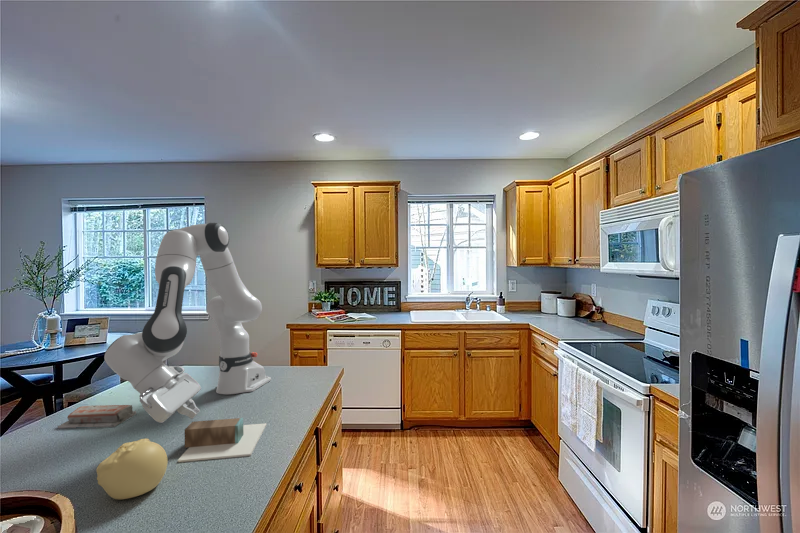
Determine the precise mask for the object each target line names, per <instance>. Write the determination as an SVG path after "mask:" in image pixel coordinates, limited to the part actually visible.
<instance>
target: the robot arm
mask: <svg viewBox="0 0 800 533" xmlns="http://www.w3.org/2000/svg"><path fill="white" fill-rule="evenodd" d="M229 235H230V234H229V232H228V230H227V228H226V227H225V226H224V225H223V224H221V223H219V222H208V223H199V224H193V225H189V226H185V227H182V228H181V227H180V228H174V229H172V230H169V231H168V232H166V233H165V234H164V235H163V237H162V240H161V242H160V244H159V247H158V250H157V253H156V258H155V263H154V264H155V266H154V275H155V281H156V283H157V284H158V292H157V296H156V297H157V298H156V302H155V307H154V312H153V313H152V315H151V317H150V318H149V319H148V320H147V321H146V323H145V324H144V326H143V328H142V332H138V333H134V334H133V333H132V334H123V335H121V336H119V337H118V338H117V339H115V340H114V341H113V342H112V343H111V344H110V345H109V346H108V347H107V349H106V350H105V352H104V357H103V358H104V362H105V363H106V365H107V366H108V367H109V369H111V370H112V371H113V372H114V373H115V374H116V375H118V377H119V378H121V379H122V380H124V381H127V382H128V383H130V384H131V386H132V387H133V389H134V390H135V391H137V392H138V393H139V402H140V404H141V406H142V408H143V409H144V411H145V412H146V413H147V414H148V415H149V416H150V417H151V418H152V419H153V420H154V421H155V422H157V423H162V424H163V423H164V422H165V421H167V420H168V419H169V418H170V417H172V416H173V415H174V414H175V413H176V412H178V414H180V415H184V416H186V417H188V418H189V419H191V420H193V419H194V418H195V417H196V416H197V415H198V414H199V413H200V411H201V409H199V407H198V406H197V405H196V403H195V401H194V400H193V398H194V397H195V396H197V394H198V393H199V392H200V391H202V387H201V384H200V383H199V382H198V381H197V380H196V379H195V378H193V377H192V375H190V374H189V373H187V372H185V368H184V367H183V366H180V365H177V366H171V365H167V364H166V363H165V361H168V359H170V358H172V357H174V356H176V355H177V354H178V353H179V352H180V351H181V349H182V348H183V345H184V344H185V339H186V337H187V334H188V331H187V330H188V328H187V325H186V321H185V319H184V317H183V314H182V313H183V312H182V310H183V300H184V293H185V290H186V287H187V286H189V285H190V284H191V283H192V281H193V278H194V276H195V272H196V266H197V257H199V258H200V261H201V266H202V269H203V271H204V274H205V276H206V279H207V282H208V284H209V287H210V288H211V289H212V291H214V292H216V293H217V294H218V295H217V296H213V297H212V298H211V299H210V300H209V301H208V303H207V305H206V312H207V314H208V316H210V318H212V321H213V323H214V324H215V327H216V329H217V333H218V337H219V356H218V367H219V374H218V381H217V386H216V389H215V392H216V393H217V394H218V395H219V394H220V395H235V394H236V395H237V394H242V393H250V392H254V391H256V390H257V389H258V388H259V389H260V387H262V386H264V385H266V384H268V382H270V381H272V377H270V376H269V375H266V369H265V367H264V366H263V365H261V364H260V363H257V362H256V361H255V360H254V359H253V358H257V357H258V353H257V352H256V351H255V352H254V351H252V352H250V334H249V333H248V331H247V330H245V328H244V325H243V323H249V322H254V321H256V320H257V319H259V318H260V316H261V315H262V311H263V304H262V302H261V301H260V299H258V298H257V297H256V296H254V295H253V294H252V293H251V292H250V291H249V289H248V287H246V285H245V284H244V282H243V281H242V278H240V275H239V273H238V270H237V267H236V264H235V261H234V258H233V256H232V253H231V251H230V249H229V247H228V246H229V242H230V236H229Z"/></svg>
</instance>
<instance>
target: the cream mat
mask: <svg viewBox="0 0 800 533" xmlns="http://www.w3.org/2000/svg"><path fill="white" fill-rule="evenodd" d="M266 427H267V423H265V422H264V423H252V424H243V436H242V438H241V439H240V441H239V443H234V444H222V445H211V446H199V447H187V449H186V450H185V451H184V453H182V455H181V456H180V457H179V458H178V459H177V463H186V462H194V461H195V462H196V461H197V462H198V461H206V460H217V459H219V460H220V459H230V458H231V459H232V458H240V457H241V458H242V457H250V456H252V454H253V452H254V450H255V449H256V447H257V445H258V443H259V440H260V438H261V437H262V434H263V433H264V431H265V428H266Z"/></svg>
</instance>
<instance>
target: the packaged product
mask: <svg viewBox="0 0 800 533" xmlns="http://www.w3.org/2000/svg"><path fill="white" fill-rule="evenodd" d="M137 414H138V413H137V411H136V410H133V405H132V404H113V405H112V404H111V405H110V404H108V405H106V404H105V405H104V404H103V405H102V404H101V405H100V404H99V405H82V406H78V407H77V408H76V409H75V410H73V411H72V412H71V413H69V414H68V415H67V421H65V422H63V423H60V425H57V429H71V428H73V429H77V428H76V427H96V428H115V427H117V426H119V425H121V424H122V423H124V422H127V421H128V420H129V419H131V418H133V417H134V416H136V415H137Z"/></svg>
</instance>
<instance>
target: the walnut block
mask: <svg viewBox="0 0 800 533" xmlns="http://www.w3.org/2000/svg"><path fill="white" fill-rule="evenodd" d="M243 425H244V417H239V418H237V417H236V418H235V417H234V418H223V419H212V420H211V419H210V420H197V421H192V422H191V423H189V424H188V426H186V428H185V429H184V448H187V449H188V448H189V447H199V446H211V445H222V444H234V443H239V441H240V439H241V438H242V436H243Z"/></svg>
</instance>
